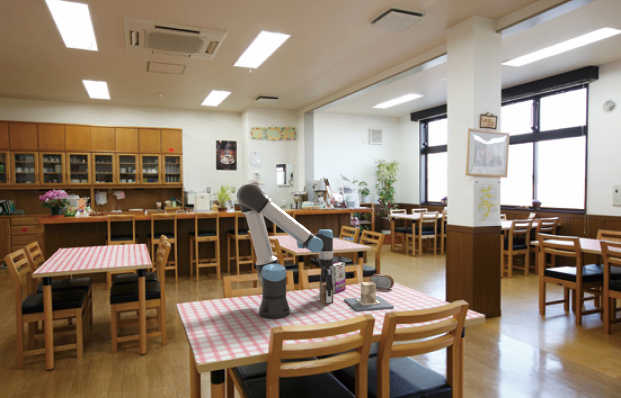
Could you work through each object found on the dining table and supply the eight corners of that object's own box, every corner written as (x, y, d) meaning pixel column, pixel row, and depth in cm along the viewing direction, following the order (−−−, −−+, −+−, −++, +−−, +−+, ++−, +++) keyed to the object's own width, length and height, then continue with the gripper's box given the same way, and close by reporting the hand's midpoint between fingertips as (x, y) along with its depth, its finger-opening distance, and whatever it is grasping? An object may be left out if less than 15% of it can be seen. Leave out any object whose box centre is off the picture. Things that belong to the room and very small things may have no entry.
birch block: (364, 304, 210) (364, 285, 209) (360, 301, 216) (360, 282, 215) (375, 303, 211) (375, 284, 211) (371, 300, 217) (371, 281, 217)
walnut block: (322, 303, 215) (322, 285, 215) (319, 300, 221) (319, 282, 221) (333, 303, 217) (333, 284, 216) (330, 299, 222) (330, 281, 222)
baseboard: (356, 311, 201) (356, 309, 201) (344, 300, 221) (344, 298, 221) (393, 308, 206) (393, 306, 206) (378, 297, 225) (378, 296, 225)
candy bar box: (338, 288, 247) (338, 261, 246) (345, 289, 244) (345, 262, 243) (328, 292, 238) (328, 264, 238) (335, 293, 235) (335, 265, 235)
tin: (394, 289, 244) (394, 275, 244) (392, 290, 242) (392, 276, 241) (371, 286, 252) (371, 272, 252) (369, 287, 250) (368, 273, 250)
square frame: (362, 305, 207) (362, 304, 207) (355, 300, 217) (355, 298, 217) (380, 304, 210) (380, 302, 210) (373, 299, 219) (373, 297, 219)
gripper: (338, 261, 208) (339, 304, 209) (327, 254, 230) (327, 293, 230) (324, 262, 206) (324, 305, 207) (314, 255, 228) (314, 294, 229)
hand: (326, 299), depth 219 cm, fingers open, 10 cm apart
